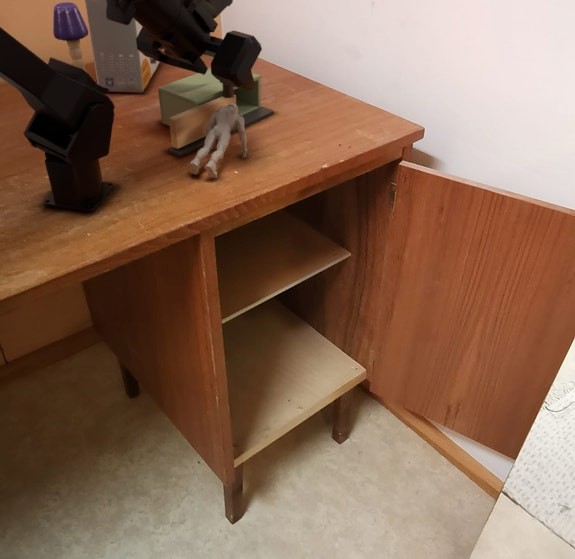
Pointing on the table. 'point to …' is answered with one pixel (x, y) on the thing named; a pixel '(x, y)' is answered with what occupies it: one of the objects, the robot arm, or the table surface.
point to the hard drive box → (117, 52)
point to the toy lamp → (70, 30)
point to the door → (197, 119)
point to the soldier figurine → (220, 137)
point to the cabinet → (205, 90)
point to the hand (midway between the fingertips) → (228, 79)
